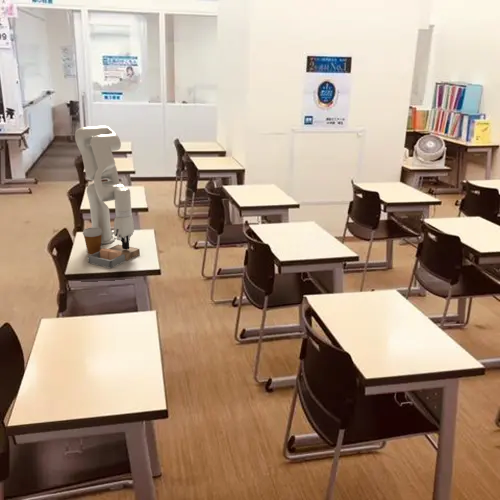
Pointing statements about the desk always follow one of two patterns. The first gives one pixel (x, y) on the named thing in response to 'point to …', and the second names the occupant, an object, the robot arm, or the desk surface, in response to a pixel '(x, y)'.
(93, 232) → the disposable coffee cup
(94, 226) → the robot arm
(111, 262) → the tray
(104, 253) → the tile
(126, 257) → the brown wooden slab
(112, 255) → the tile
